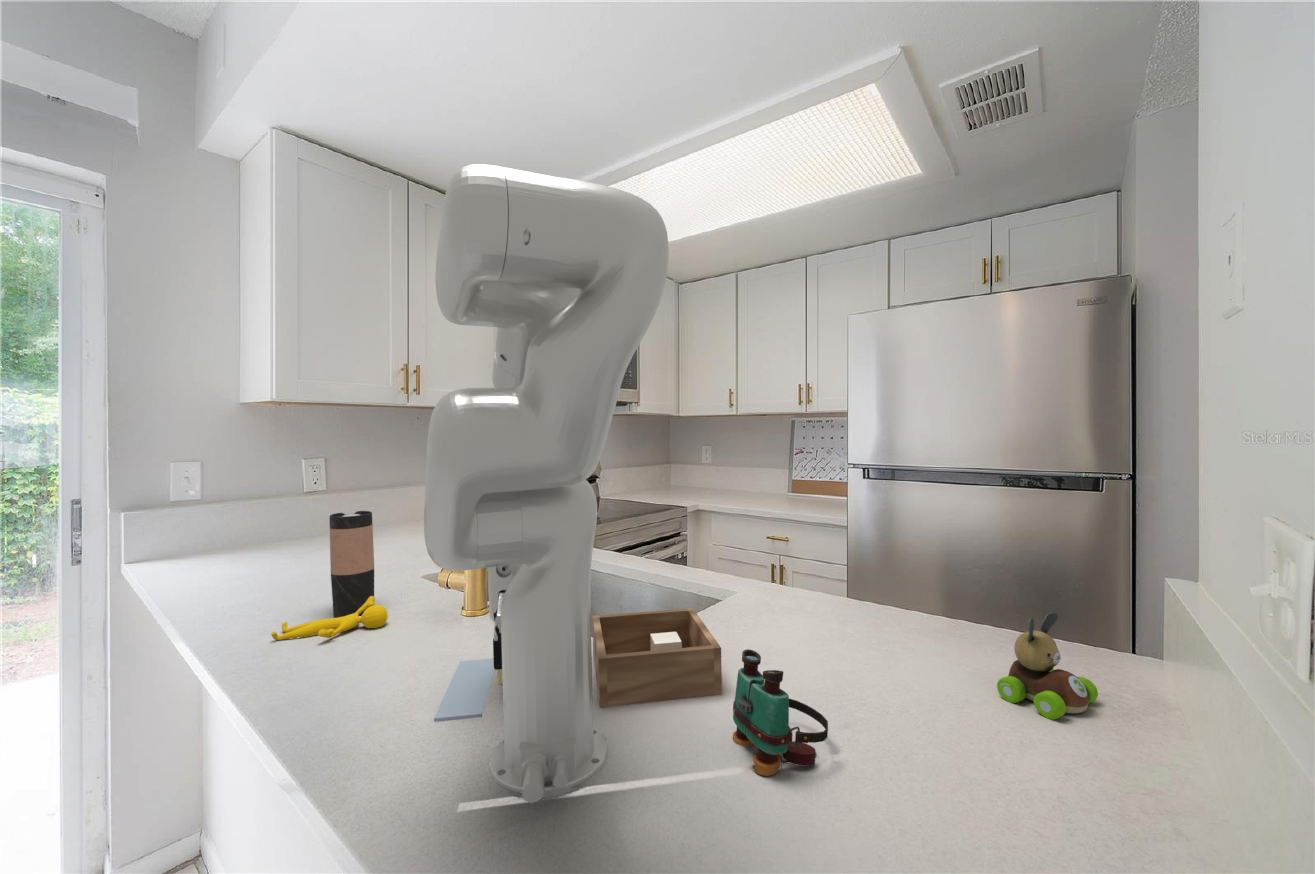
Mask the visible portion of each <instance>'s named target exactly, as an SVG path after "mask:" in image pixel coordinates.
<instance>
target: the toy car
mask: <svg viewBox="0 0 1315 874" xmlns="http://www.w3.org/2000/svg"><path fill="white" fill-rule="evenodd" d="M1058 618H1059V616H1058V613H1056V612H1055V611H1053V612H1052V611H1051V612H1049V613H1048V614H1046V615H1045V617H1044V619H1043V620H1042V622H1041V624H1040V630H1035V622H1034V619H1033V617H1030V618H1029V620H1028V623H1027V631H1025V632H1023V633H1022V634H1020V635H1019V636H1018V637H1017V638H1016V640H1015V642H1014V654H1015V657H1016V660H1014V661H1013V662H1012V664H1011V666H1010V669H1009V672H1008V675H1007V676H1005V677H1001V678H1000V679H999V680H998V681H997V683H996V689H997V692H998V694H999V695H1000V696H1001V698H1002V699H1003V700H1004V701H1006V702H1008V703H1011V704H1017V703H1020V702H1022V701H1024V699H1027V700H1030V701H1032V702H1033V705H1034V708H1035V709H1036V711H1037V712H1038V713H1039V714H1040V715H1041V716H1042V717H1044V718H1046V719H1048V720H1052V721H1053V720H1057V719H1059V718H1062V717H1063V716H1064V715H1065V714H1079V713H1083V712H1085V711H1086V710H1087V709H1088V707H1089V704H1090V703H1092V702H1094V701H1096V700H1097V699H1098V696H1099V693H1098V688H1097V687H1096V685H1095V684H1094V683H1093V682H1092V681H1091V680H1090V679H1089V678H1086V677H1084V676H1083V677H1082V676H1076V675H1075V674H1074V673H1072V672H1070V671H1067V670H1064V669H1061V668H1057V669H1054V668H1055V667H1056V666H1057V665H1059V663H1060V661H1061V658H1062V657H1061V652H1060V651H1059V649H1058V645H1057V644H1056V642H1055V639H1054V638H1053V637H1052V636H1051V635H1049V632H1050V630H1051V628H1052V627H1053V626H1054V624H1055V623H1056V622H1057V621H1058Z"/></svg>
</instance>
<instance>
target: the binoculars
mask: <svg viewBox="0 0 1315 874" xmlns="http://www.w3.org/2000/svg"><path fill="white" fill-rule="evenodd" d="M761 661H762V656H761V655H760V653H758V652H757V651H755V650H753V649H748V648H747V649H745V650H743V651H742V652H741V662H742V663H743V667H741V668H739V669H738V671H737V677H736V687H735V692H734V693H735V694H734V701H733V704H732V712H733V713H732V714H733V715H732V719H733V722H734V724H735V725H736V730H735V731H734V732H733V733H732V741H733V742H734V744H736V745H738V746H741V747H750V746H753V745H754V746H756V747H757V752H755V753H754V755H753V759H752V760H753V764H752V767H753V770H754V772H755V773H757V774H758V775H761V776H772V775H775V774H776V773H777V772H778V771H779V770H780V768H781V763H783V764H784V763H785V764H786V763H790V764H792V765H796V766H802V767H811V766H814V765H815V764H816V753H817V751H816V749H815V748H814V747H813V746H812V745H810V744H808V743H812V744H814V743H822V742H825V740H827V739H828V736H829V735H828V732H829V721H828V720H827V718H826V717H825V716H824V715H823V714H822V713H820V712H819V711H817V710H816V709H815V708H813V707H811V706H809V705H807V704H805V703H803V702H801V701H799V700H796V699H792V698H789V694H788V693H787V692H786V691H784V690H783V689H782V688H780V686H781V683H782V682H783V681H784V679H783V678H784V671H783V670H776V669H773V670H771V669H770V670H764V671H762V673H761V672H760V671H759V670H758V668H759V665H761ZM790 709H794V710H796V711H798V712H800V713H803V714H805V715H807V716H809V717H811V718H812V719H814V720H815V721H816V722H818V723H819V724H820V725H821V726H822V727H823V728H824V730H822V731H818V732H809V731H807V732H804V731H801V730H800V726H794V727H792V728H791V727H790V726H789V725H790V724H789V719H790ZM794 730H796V731H795V738H794V739H795V740H793V731H794ZM783 759H784V760H783Z"/></svg>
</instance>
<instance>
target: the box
mask: <svg viewBox="0 0 1315 874" xmlns="http://www.w3.org/2000/svg"><path fill="white" fill-rule="evenodd" d="M591 618H592V619H591V623H592V654H593V656H592V657H593V664H594V672H595V679H596V686H597V696H598V702H599V708H608V707H609V708H610V707H619V706H629V705H638V704H647V703H649V704H650V703H657V702H667V701H676V700H684V699H685V700H686V699H695V698H704V697H713V696H722V695H723V679H722V678H723V676H722V673H723V672H722V669H723V668H722V647H721V646H720V644H719V643H718V641H717V639H715V637H714V636H713V634H712V633H711V631H710V630H709V629H708V628H707V625H706V624H705V623H704V622H703V620H702V619H701V617H700V616H699V615H698V613H697V611H696V610H695V609H694V608H692V607H691V608H690V607H689V608H679V609H677V608H676V609H665V610H663V609H662V610H652V611H651V610H650V611H639V612H626V613H615V614H612V613H611V614H603V615H602V614H601V615H600V614H599V615H591ZM666 632H677V634H678V636H679V638H680V640H681V641H682V648H676V649H665V650H654V651H651V644H650V634H654V633H666Z"/></svg>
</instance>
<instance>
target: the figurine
mask: <svg viewBox="0 0 1315 874" xmlns="http://www.w3.org/2000/svg"><path fill="white" fill-rule="evenodd" d="M375 601H376V597H375V596H374V597H373V596H370V597H369V598H368V599H367V601H366V602H365V603H364V605H363V606H362V607H360V608H359V609H358V610H357V611H356V612H355V613H353V614H350V615H347V616H344V617H338V618H335V617H331V618H322V619H321V618H320V619H317V620H312V621H308V622H304V623H301V624H298V625H294V626H291V627H288V622H287V621H283V622H282V624H281V630H282V632H283V633H282V634H280V635H278V633H277V632H276V631H274V630H273V631H272V632H271V634H270V635H271V637H272V638H273V640H274V641H278V640H280V641H284V640H283V639H289V640H291V639H290V638H297V637H304V638H309V637H308V636H311V637H313V636H312V635H317V636H319V637H321V638H326V639H329V638H333V637H335V636H337V635H338V634H340V633H343V632H346V631H349V630H351V629H353V628H355V627H357V626H358V625H359V624H362V625H363V626H364V627H365V628H366V629H369V628H375V629H379V628H378V627H380V628H382V627H383V626H384V625H386V623H387V621H388V618H389V612H388V610H387V607H385V606H384V605H382V604H381V605H380V604H375ZM373 602H374V603H373ZM368 607H369V608H368ZM366 608H367V609H366ZM365 609H366V610H365ZM364 610H365V611H364ZM362 611H364V613H363V614H362V616H361V617H359V616H358V615H359V614H360V613H361V612H362ZM297 639H298V638H297Z"/></svg>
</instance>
